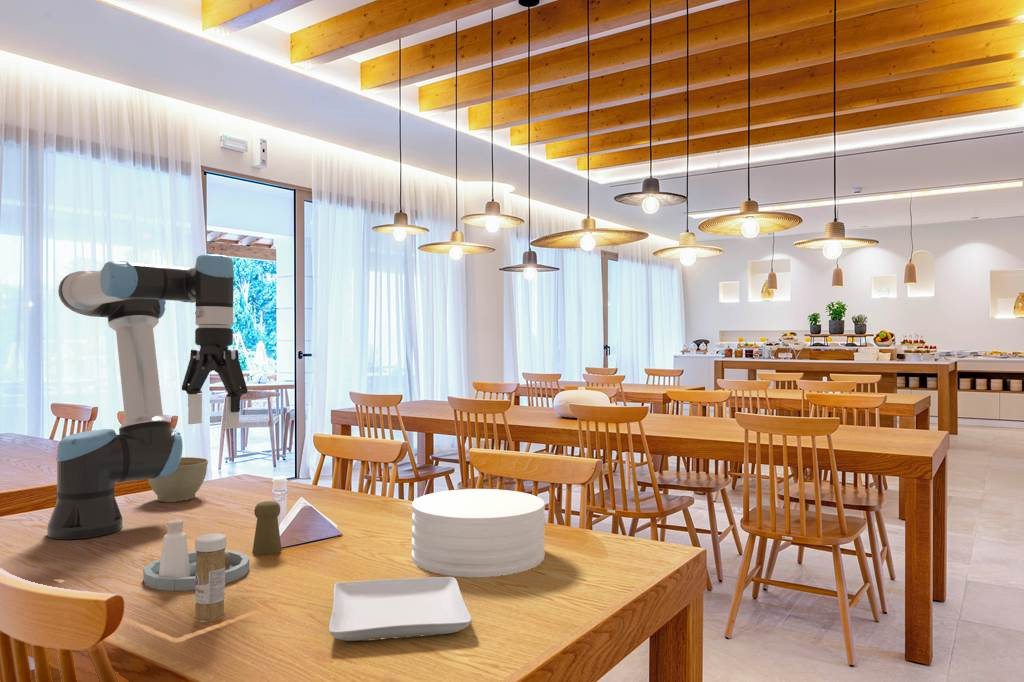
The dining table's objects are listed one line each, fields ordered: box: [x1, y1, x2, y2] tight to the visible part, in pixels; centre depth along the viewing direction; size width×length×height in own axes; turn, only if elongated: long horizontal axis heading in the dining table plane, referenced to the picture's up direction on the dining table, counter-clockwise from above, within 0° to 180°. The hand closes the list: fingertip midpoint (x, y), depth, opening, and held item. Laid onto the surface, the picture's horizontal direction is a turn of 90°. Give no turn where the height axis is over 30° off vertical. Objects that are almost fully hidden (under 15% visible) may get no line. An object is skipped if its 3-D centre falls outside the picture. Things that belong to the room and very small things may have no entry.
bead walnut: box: [225, 552, 230, 570], centre depth 132 cm, size 4×4×4 cm
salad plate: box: [328, 576, 473, 642], centre depth 114 cm, size 21×21×3 cm
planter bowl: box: [147, 456, 209, 503], centre depth 201 cm, size 16×16×11 cm
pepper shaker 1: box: [159, 518, 191, 577], centre depth 129 cm, size 5×5×11 cm
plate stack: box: [411, 488, 546, 578], centre depth 148 cm, size 28×28×12 cm
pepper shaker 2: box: [251, 500, 282, 556], centre depth 148 cm, size 6×6×11 cm
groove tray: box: [143, 549, 250, 592], centre depth 133 cm, size 18×18×3 cm
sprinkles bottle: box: [193, 532, 227, 623], centre depth 112 cm, size 5×5×14 cm
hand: (213, 425), depth 151 cm, fingers open, 13 cm apart
